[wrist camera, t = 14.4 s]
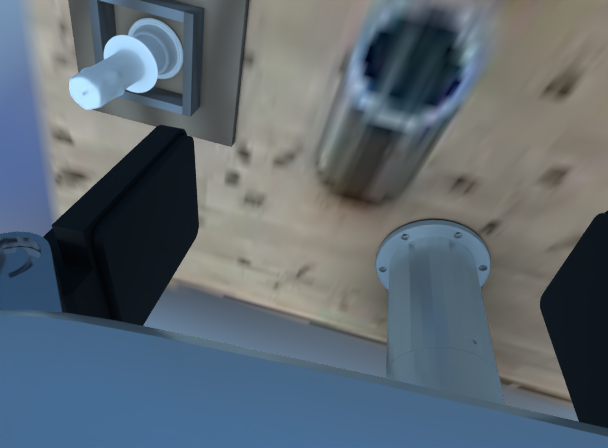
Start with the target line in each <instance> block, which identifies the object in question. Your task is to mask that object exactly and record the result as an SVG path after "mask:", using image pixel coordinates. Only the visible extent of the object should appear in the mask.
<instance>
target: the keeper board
mask: <svg viewBox="0 0 608 448" xmlns="http://www.w3.org/2000/svg"><path fill="white" fill-rule="evenodd" d="M68 1H69V8H70V15H71V23H72V30H73V37H74V44H75V51H76V58H77V65H78V72H80V71H81V70H82V69H83V68H86V67H91V66H93V65H95V64H97V63H99V62H101V61H102V60H104V48H105V45H106V44H107V42H108V41H109V40H110V39H111V38H112V37H114V36H117V35H128V33H129V30H130V28H131V26H132V25H133V24H134V23H135V22H136V21H138V20H140V19H143V18H154V19H157V20H160V21H162V22H163V23H165V24H166V25H168V26H169V27H170V28H171V29H172V30H173V31H174V32H175V34H176V35H177V37H178V38H179V40H180V42H181V45H182V48H183V64H182V67H181V69H180V71H179V72H178V73H177V74H176V75H175V76H173V77H171V78H168V79H158V78H157V81H156V83H155V85H154V86H153V88H152V89H150V90H149V91H146V92H143V93H135V92H131V91H128V90H125V92H124V94H123V95H121V96H118V97H116V98H114V99H113V100H111V101H109V102H108V103H106V104H105V105H104V106H102V107H100V108H96V109H92V110H96V111H100V112H103V113H107V114H111V115H115V116H118V117H122V118H126V119H129V120H133V121H137V122H141V123H144V124H148V125H152V126H156V127H157V126H159V125H165V126H171V127H176V128H182V129H184V130H185V131H186V133H187V135H189V136H193V137H197V138H200V139H204V140H208V141H212V142H215V143H219V144H223V145H226V146H230V147H232V145H233V144H234V142H235V132H236V122H237V113H238V103H239V93H240V83H241V74H242V64H243V54H244V45H245V35H246V25H247V15H248V6H249V0H68Z"/></svg>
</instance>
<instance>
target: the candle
mask: <svg viewBox="0 0 608 448" xmlns="http://www.w3.org/2000/svg"><path fill="white" fill-rule="evenodd" d="M182 64H183V48H182V45H181V42H180V40H179V38H178V37H177V35H176V34H175V32H174V31H173V30H172V29H171V28H170V27H169V26H168V25H166V24H165V23H163V22H162V21H160V20H157V19H154V18H143V19H140V20H138V21H136V22H135V23H134V24H133V25H132V26H131V28H130V30H129V33H128V35H117V36H114V37H112V38H111V39H110V40H109V41H108V42H107V44H106V45H105V48H104V60H102V61H101V62H99V63H97V64H95V65H93V66H91V67H86V68H83V69H82V70H81V71H80V72H79V73H78V74H76V75H75V76H73V77H72V78H70V80H69V90H70V93H71V96H72V97H73V99H74V100H75V101H76V102H77V103H78V104H79V105H80V106H81V107H83V108H84V109H86V110H91V109H96V108H100V107H102V106H104V105H105V104H106V103H108V102H109V101H111V100H113V99H114V98H116V97H118V96H121V95H123V94H124V92H125V90H128V91H131V92H135V93H143V92H146V91H149V90H150V89H152V88H153V86H154V85H155V83H156V81H157V78H158V79H168V78H171V77H173V76H175V75H176V74H177V73H178V72H179V71H180V69H181V67H182Z"/></svg>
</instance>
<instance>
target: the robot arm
mask: <svg viewBox="0 0 608 448" xmlns="http://www.w3.org/2000/svg"><path fill="white" fill-rule="evenodd" d="M198 228H199V220H198V203H197V186H196V170H195V153H194V140H193V138H192V137H191V136H187V133H186V131H185V130H184V129H182V128H176V127H171V126H165V125H159V126H157V127H156V128H155V129H154V130H153V131H152V132H151V133H150V134H149V135H147V136H146V137H145V138H144V139H143V140H142V141H141V142H140V143H139V144H138V145H137V146H136V147H135V148H134V149H133V150H131V151H130V152H129V153H128V154H127V155H126V156H125V157H124V158H123V159H122V160H121V161H120V162H119V163H118V164H116V165H115V166H114V167H113V168H112V169H111V170H110V171H109V172H108V173H107V174H106V175H105V176H104V177H103V178H102V179H100V180H99V181H98V182H97V183H96V184H95V185H94V186H93V187H92V188H91V189H90V190H89V191H88V192H87V193H86V194H84V195H83V196H82V197H81V198H80V199H79V200H78V201H77V202H76V203H75V204H74V205H73V206H72V207H71V208H69V209H68V210H67V211H66V212H65V213H64V214H63V215H62V216H61V217H60V218H59V219H58V220H57V221H56V222H55V223H53V224H52V229H51V230H50V231H49V232H48V233H47V234H46V235H45V236H44V237H42V236H40V235H37V234H34V233H30V232H9V233H2V234H0V448H608V211H607V212H605V213H601V214H598V215H597V216H596V217H595V218H594V219H593V221H592V222H591V224H590V225H589V227H588V228H587V230H586V231H585V233H584V234H583V235H582V237H581V238H580V240H579V241H578V243H577V244H576V246H575V247H574V249H573V250H572V252H571V253H570V255H569V256H568V258H567V259H566V261H565V262H564V263H563V265H562V266H561V268H560V269H559V271H558V272H557V274H556V275H555V277H554V278H553V280H552V281H551V283H550V284H549V286H548V287H547V289H546V290H545V291H544V293H543V295H542V297H541V301H540V308H541V312H542V315H543V318H544V321H545V324H546V327H547V330H548V333H549V335H550V338H551V341H552V344H553V347H554V350H555V353H556V356H557V359H558V362H559V365H560V368H561V371H562V373H563V376H564V379H565V382H566V385H567V388H568V391H569V394H570V397H571V400H572V403H573V406H574V408H575V411H576V414H577V417H578V420H579V422H577V421H573V420H568V419H564V418H560V417H555V416H551V415H547V414H542V413H538V412H533V411H529V410H524V409H520V408H516V407H512V406H507V405H505V402H504V398H503V393H502V388H501V383H500V379H499V375H498V371H497V366H496V361H495V356H494V351H493V346H492V342H491V337H490V332H489V327H488V322H487V317H486V312H485V308H484V303H483V298H482V293H481V287H482V286H483V285H484V283H485V281H486V280H487V278H488V276H489V272H490V264H491V261H490V257H489V252H488V250H487V247H486V245H485V243H484V242H483V241H482V239H481V238H480V237H479V236H478V235H477V234H475V233H474V232H473V231H472V230H470V229H468V228H466V227H464V226H462V225H459V224H456V223H454V222H449V221H443V220H426V221H418V222H414V223H411V224H408V225H405V226H403V227H401V228H399V229H397V230H396V231H394V232H393V233H391V234H390V235H389V236H388V237H387V238H386V239H385V240H384V241H383V243H382V244H381V246H380V247H379V250H378V253H377V259H376V271H377V275H378V278H379V280H380V281H381V283H382V285H383V286H384V287H385V288H386V289H387V290H388V291H389V295H388V328H387V363H386V378H382V377H377V376H373V375H369V374H364V373H360V372H355V371H351V370H346V369H342V368H337V367H332V366H328V365H324V364H319V363H314V362H310V361H305V360H301V359H296V358H291V357H287V356H282V355H278V354H273V353H268V352H263V351H259V350H254V349H249V348H245V347H241V346H236V345H232V344H227V343H222V342H218V341H213V340H208V339H204V338H199V337H195V336H190V335H184V334H180V333H175V332H170V331H165V330H160V329H155V328H150V327H145V326H143V325H144V323H145V321H146V320H147V318H148V316H149V315H150V313H151V311H152V309H153V308H154V306H155V305H156V303H157V302H158V300H159V298H160V297H161V295H162V293H163V292H164V290H165V288H166V287H167V285H168V283H169V282H170V280H171V278H172V277H173V275H174V273H175V272H176V270H177V268H178V267H179V265H180V263H181V262H182V260H183V258H184V257H185V255H186V253H187V252H188V250H189V248H190V247H191V245H192V243H193V242H194V240H195V238H196V236H197V233H198Z"/></svg>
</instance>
